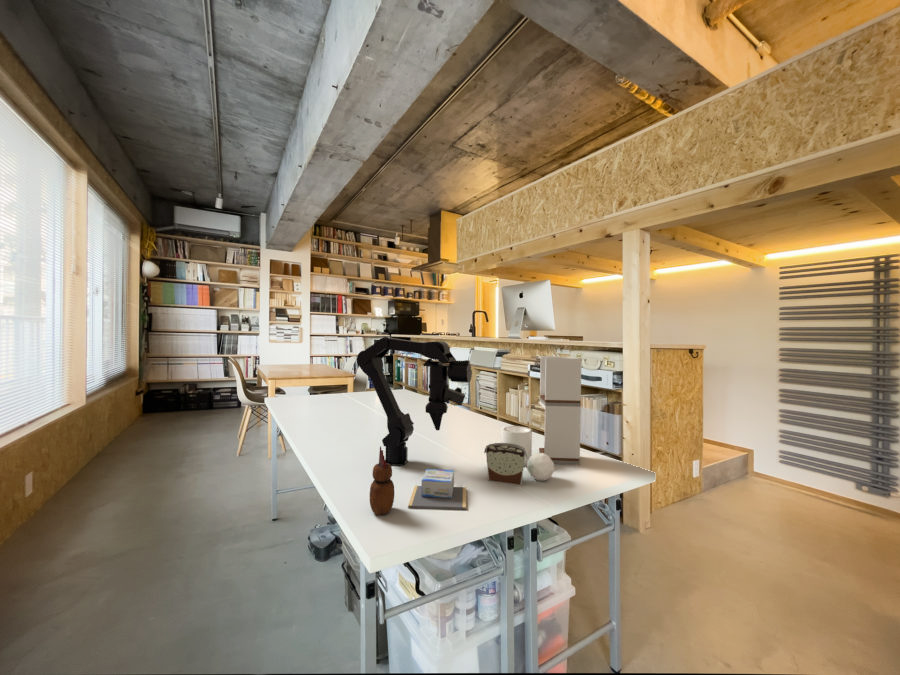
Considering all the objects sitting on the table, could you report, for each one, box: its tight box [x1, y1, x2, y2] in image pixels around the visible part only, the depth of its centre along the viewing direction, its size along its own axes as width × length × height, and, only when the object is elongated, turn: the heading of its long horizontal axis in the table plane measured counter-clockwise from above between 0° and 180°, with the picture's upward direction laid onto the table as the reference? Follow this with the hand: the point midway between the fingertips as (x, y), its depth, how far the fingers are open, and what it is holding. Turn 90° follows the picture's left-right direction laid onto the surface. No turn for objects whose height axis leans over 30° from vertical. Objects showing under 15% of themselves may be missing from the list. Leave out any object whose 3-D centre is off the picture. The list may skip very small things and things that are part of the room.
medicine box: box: [421, 468, 455, 498], centre depth 100 cm, size 8×4×9 cm
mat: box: [407, 485, 467, 511], centre depth 97 cm, size 14×12×1 cm
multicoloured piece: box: [483, 442, 527, 486], centre depth 110 cm, size 12×6×10 cm, turn 71°
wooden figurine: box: [369, 446, 395, 516], centre depth 89 cm, size 7×6×15 cm
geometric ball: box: [526, 452, 555, 481], centre depth 111 cm, size 8×8×8 cm
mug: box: [500, 425, 533, 467], centre depth 128 cm, size 14×10×11 cm
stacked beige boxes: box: [538, 355, 582, 466], centre depth 129 cm, size 11×11×35 cm
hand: (437, 430), depth 119 cm, fingers closed
